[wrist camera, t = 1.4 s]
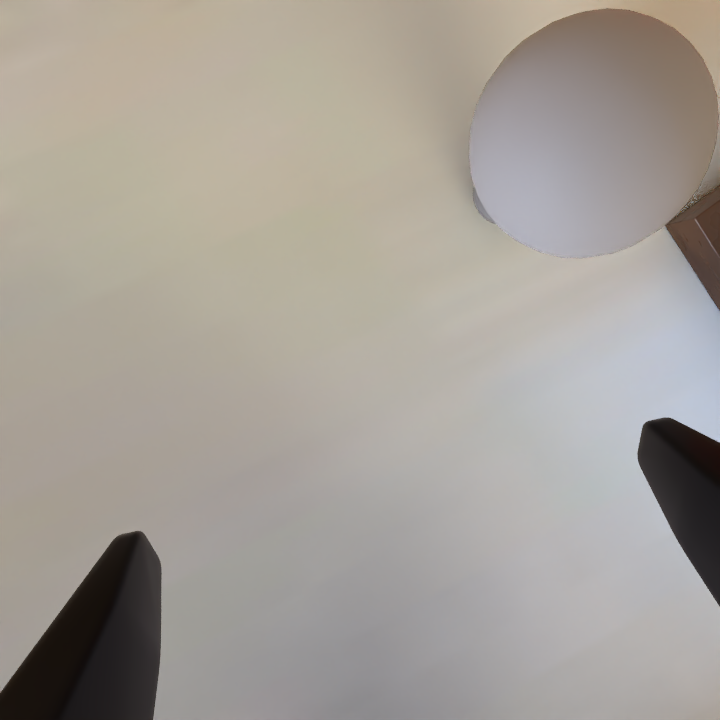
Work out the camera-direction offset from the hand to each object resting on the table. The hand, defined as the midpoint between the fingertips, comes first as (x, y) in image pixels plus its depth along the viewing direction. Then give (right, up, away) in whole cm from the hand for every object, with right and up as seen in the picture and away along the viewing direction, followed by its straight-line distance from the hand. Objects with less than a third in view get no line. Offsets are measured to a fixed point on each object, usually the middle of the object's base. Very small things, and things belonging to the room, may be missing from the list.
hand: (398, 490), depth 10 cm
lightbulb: (+5, +9, +13) cm, 17 cm away
